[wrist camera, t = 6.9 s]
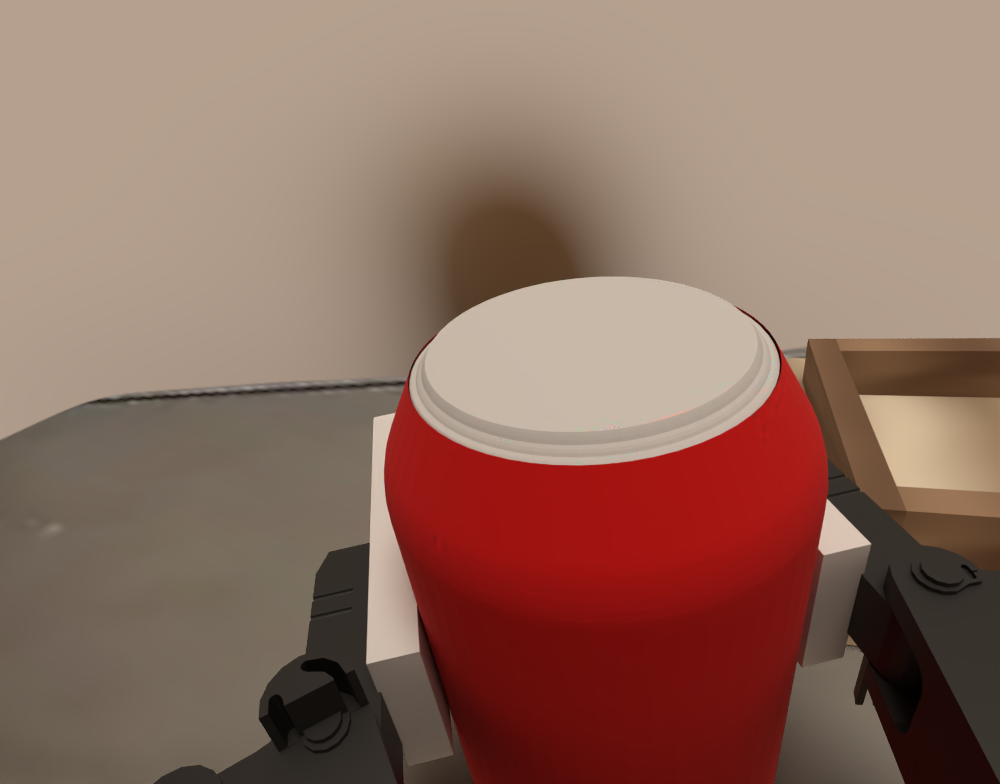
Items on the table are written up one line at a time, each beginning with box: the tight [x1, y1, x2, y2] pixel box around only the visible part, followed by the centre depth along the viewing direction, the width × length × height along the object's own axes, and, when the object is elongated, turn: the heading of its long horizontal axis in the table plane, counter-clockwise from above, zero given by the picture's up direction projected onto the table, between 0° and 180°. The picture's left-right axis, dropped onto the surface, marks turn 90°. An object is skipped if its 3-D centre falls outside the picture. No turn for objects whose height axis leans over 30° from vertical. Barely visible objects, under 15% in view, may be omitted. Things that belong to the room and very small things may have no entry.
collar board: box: [786, 338, 1000, 646], centre depth 20 cm, size 20×14×3 cm
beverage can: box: [384, 277, 829, 784], centre depth 11 cm, size 6×6×12 cm
